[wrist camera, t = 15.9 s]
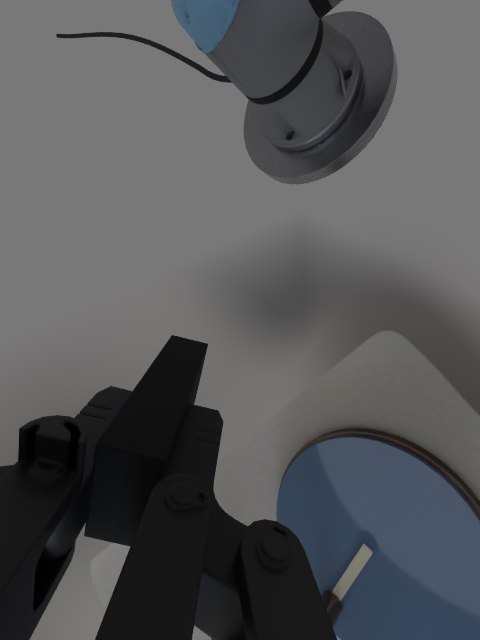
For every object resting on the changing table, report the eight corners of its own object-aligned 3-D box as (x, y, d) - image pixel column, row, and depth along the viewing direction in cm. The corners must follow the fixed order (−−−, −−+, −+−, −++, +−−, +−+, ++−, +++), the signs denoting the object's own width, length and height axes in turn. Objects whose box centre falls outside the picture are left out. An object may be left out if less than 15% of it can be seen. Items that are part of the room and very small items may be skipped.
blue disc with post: (330, 395, 41) (257, 419, 28) (566, 556, 28) (648, 755, 14) (253, 534, 47) (160, 612, 33) (421, 724, 33) (381, 987, 20)
